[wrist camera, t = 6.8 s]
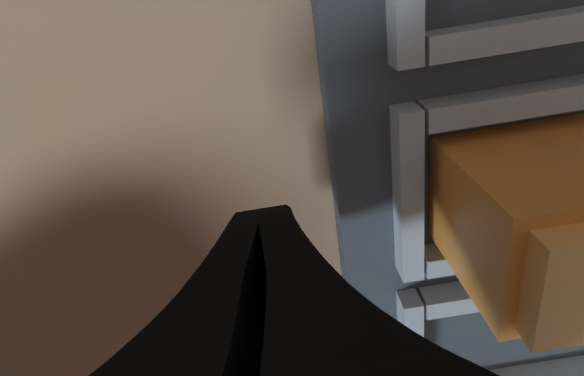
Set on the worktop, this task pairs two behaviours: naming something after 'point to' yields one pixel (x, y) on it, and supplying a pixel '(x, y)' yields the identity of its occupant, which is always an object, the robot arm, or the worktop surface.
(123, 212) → the worktop surface
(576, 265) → the slider orange
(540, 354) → the panel
